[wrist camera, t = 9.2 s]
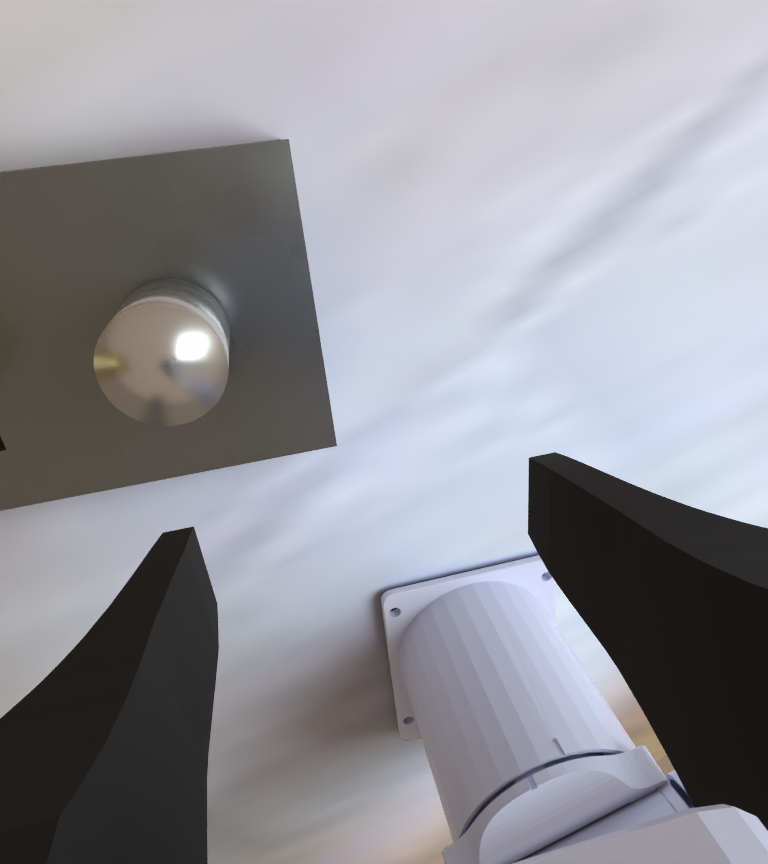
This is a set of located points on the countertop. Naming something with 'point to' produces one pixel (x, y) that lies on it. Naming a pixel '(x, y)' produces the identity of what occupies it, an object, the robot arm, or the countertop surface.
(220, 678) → the countertop surface
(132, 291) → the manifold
